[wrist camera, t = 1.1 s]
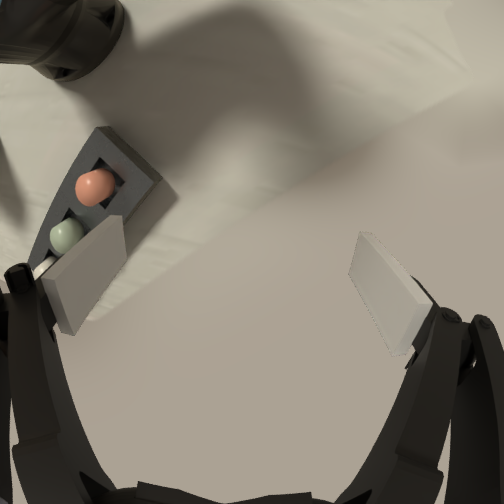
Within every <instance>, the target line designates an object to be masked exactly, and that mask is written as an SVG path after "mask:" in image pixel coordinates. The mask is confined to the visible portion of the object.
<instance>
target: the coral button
mask: <svg viewBox="0 0 504 504" xmlns="http://www.w3.org/2000/svg"><path fill="white" fill-rule="evenodd" d="M114 189H115V178H114V176H113V174H112V173H111V172H110V171H109V170H108V169H105V168H99V169H97V170H94V171H91V172H88V173H86V174H83V175H81V176H80V177H79V178H78V180H77V182H76V187H75V191H76V195H77V198H78V200H79V201H80V202H81V203H82V204H83V205H85V206H94V205H96V204H97V203H99V202H101V201H103V200H104V199H106V198H108V197H109V196H111V195H112V193H113V192H114Z"/></svg>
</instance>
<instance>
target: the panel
mask: <svg viewBox="0 0 504 504" xmlns="http://www.w3.org/2000/svg"><path fill="white" fill-rule="evenodd" d="M99 168H105V169H108V170H109V171H110V172H111V173H112V174H113V176H114V178H115V189H114V192H113V193H112V195H111V196H109V197H108V198H106V199H104V200H103V201H101V202H99V203H97V204H96V205H94V206H85V205H83V204H82V203H81V202H80V201H79V200H78V198H77V195H76V191H75V187H76V182H77V180H78V178H79V177H80V176H81V175H83V174H86V173H88V172H91V171H94V170H97V169H99ZM162 178H163V177H162V176H161V175H160V174H159V173H158V172H157V171H156V170H155V169H154V168H153V167H152V166H150V165H149V164H148V163H147V162H146V161H145V160H144V159H143V158H142V157H141V156H140V155H139V154H138V153H137V152H136V151H135V150H134V149H132V148H131V147H130V146H129V145H128V144H127V143H126V142H125V141H124V140H123V139H122V138H121V137H120V136H119V135H118V134H117V133H116V132H115V131H113V130H112V129H111V128H110V127H109V126H104V127H96V128H95V129H94V131H93V132H92V134H91V135H90V137H89V138H88V140H87V141H86V143H85V144H84V146H83V148H82V149H81V151H80V152H79V154H78V156H77V157H76V159H75V161H74V162H73V164H72V166H71V168H70V169H69V171H68V173H67V175H66V176H65V178H64V180H63V182H62V184H61V186H60V188H59V190H58V192H57V193H56V195H55V197H54V200H53V202H52V204H51V206H50V208H49V210H48V212H47V214H46V217H45V219H44V221H43V223H42V226H41V228H40V231H39V233H38V235H37V238H36V240H35V243H34V246H33V248H32V251H31V254H30V257H29V259H28V262H27V263H28V264H29V265H30V267H31V269H32V270H33V271H34V270H35V268H37V267H38V266H39V265H40V264H41V263H42V262H43V261H45V260H46V259H47V258H48V257H50V256H52V257H55V258H56V259H58V258H59V257H61V256H62V255H64V254H61V253H59V252H58V251H56V250H55V249H54V247H53V246H52V244H51V241H50V232H51V230H52V228H53V227H55V226H57V225H58V224H60V223H61V222H63V221H64V220H66V219H67V218H69V217H74V218H76V219H78V220H79V221H80V222H81V224H82V226H83V228H84V237H85V236H86V235H87V234H88V233H89V232H91V231H92V230H93V229H94V228H95V227H96V226H98V225H99V224H100V223H101V222H103V221H104V220H105V219H106V218H107V217H109V216H110V215H121V216H122V221H123V226H124V225H125V223H126V222H127V221H128V220H129V218H130V217H131V216H132V214H133V213H134V212H135V210H136V209H137V208H138V207H139V205H140V204H141V203H142V202H143V200H144V199H145V198H146V197H147V196H148V194H149V193H150V192H151V191H152V189H153V188H154V187H155V186H156V185H157V184H158V182H159V181H160V180H161V179H162Z"/></svg>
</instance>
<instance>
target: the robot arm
mask: <svg viewBox="0 0 504 504" xmlns="http://www.w3.org/2000/svg"><path fill="white" fill-rule="evenodd" d="M123 23H124V11H123V7H122V5H121V3H120V2H119V1H118V0H0V63H6V64H24V65H30V66H31V67H33V68H34V69H35V70H37V71H38V72H39V73H41V74H42V75H43V76H45V77H46V78H49V79H51V80H57V81H72V80H75V79H78V78H80V77H82V76H84V75H86V74H88V73H89V72H91V71H92V70H93V69H94V68H96V67H97V66H98V65H99V64H100V63H101V62H102V61H103V60H104V59H105V58H106V57H107V55H108V54H109V53H110V51H111V50H112V49H113V47H114V45H115V44H116V42H117V40H118V38H119V36H120V33H121V31H122V27H123ZM126 261H127V254H126V247H125V239H124V230H123V221H122V216H121V215H110V216H109V217H107V218H106V219H105V220H104V221H103V222H101V223H100V224H99V225H98V226H96V227H95V228H94V229H93V230H92V231H91V232H89V233H88V234H87V235H86V236H85V237H84V238H82V239H81V240H80V241H79V242H78V243H77V244H76V245H74V246H73V247H72V248H71V249H70V250H69V251H68V252H67V253H66V254H64V255H62V256H61V257H59V258H58V259H56V260H55V261H54V262H53V264H51V265H50V266H49V267H48V269H46V270H45V271H44V272H43V273H42V274H41V275H40V276H39V277H38V278H37V279H36V280H34V277H33V274H32V271H31V267H30V265H29V264H28V263H19V264H16V265H14V266H12V267H10V268H9V269H8V270H7V271H6V272H5V274H4V277H5V280H6V283H7V286H8V288H9V291H10V293H5V294H3V293H2V291H1V288H0V504H13V499H12V498H13V494H12V492H13V491H12V490H13V489H12V477H11V466H10V444H9V442H10V441H9V431H10V407H11V398H12V405H13V412H14V418H15V423H16V429H17V433H18V438H19V443H18V444H16V445H13V447H12V455H13V460H14V463H15V467H16V471H17V474H18V478H19V481H20V484H21V487H22V490H23V492H24V495H25V498H26V500H27V503H28V504H223V503H218V502H214V501H211V500H208V499H205V498H202V497H198V496H196V495H193V494H190V493H187V492H184V491H182V490H179V489H173V488H168V487H162V486H158V485H153V484H149V483H144V482H140V481H138V484H137V487H132V488H122V489H116V487H115V486H114V484H113V483H112V481H111V480H110V478H109V477H108V476H107V475H106V474H105V472H104V471H103V469H102V468H101V466H100V464H99V462H98V460H97V458H96V456H95V454H94V452H93V450H92V448H91V445H90V443H89V441H88V439H87V436H86V434H85V432H84V429H83V427H82V424H81V421H80V419H79V416H78V414H77V411H76V408H75V405H74V402H73V399H72V396H71V393H70V390H69V387H68V383H67V380H66V376H65V373H64V369H63V365H62V362H61V357H60V354H59V349H58V344H57V339H56V334H55V332H54V330H53V326H54V325H55V323H56V322H57V324H58V326H59V329H60V331H61V333H65V334H69V335H72V336H75V334H76V333H77V331H78V330H79V328H80V327H81V325H82V323H83V322H84V320H85V319H86V317H87V316H88V314H89V313H90V311H91V310H92V308H93V307H94V305H95V304H96V302H97V301H98V299H99V298H100V297H101V295H102V294H103V292H104V291H105V289H106V288H107V287H108V285H109V284H110V282H111V281H112V280H113V278H114V277H115V275H116V274H117V273H118V271H119V270H120V269H121V267H122V266H123V265H124V263H125V262H126ZM349 276H350V278H351V279H352V281H353V283H354V285H355V287H356V288H357V290H358V292H359V294H360V296H361V297H362V299H363V301H364V303H365V305H366V307H367V308H368V310H369V312H370V314H371V316H372V318H373V320H374V322H375V323H376V325H377V327H378V329H379V331H380V333H381V335H382V337H383V339H384V341H385V343H386V345H387V347H388V349H389V351H390V353H391V356H400V355H406V354H407V352H408V350H409V349H410V347H411V345H413V346H414V348H415V352H414V354H413V355H412V357H411V359H410V360H409V362H408V364H407V365H406V367H405V369H407V368H408V369H407V372H406V375H405V377H404V380H403V383H402V385H401V388H400V390H399V393H398V395H397V398H396V400H395V403H394V405H393V407H392V409H391V411H390V414H389V416H388V418H387V420H386V423H385V425H384V427H383V429H382V431H381V433H380V435H379V437H378V438H377V441H376V442H375V444H374V446H373V448H372V450H371V452H370V453H369V455H368V457H367V459H366V461H365V462H364V464H363V466H362V467H361V469H360V471H359V472H358V474H357V475H356V477H355V479H354V480H353V482H352V483H351V484H350V485H349V487H348V488H347V489H346V490H345V491H344V492H343V493H342V494H341V495H340V496H339V497H338V499H337V500H336V501H335V502H334V503H331V502H328V501H325V500H320V499H314V498H312V495H311V492H306V493H296V494H283V495H268V496H264V497H259V498H255V499H250V500H245V501H239V502H234V503H227V504H434V503H435V501H436V498H437V496H438V493H439V491H440V488H441V485H442V482H443V478H444V476H443V472H442V471H439V470H438V468H437V467H438V462H439V459H440V456H441V453H442V450H443V446H444V442H445V439H446V435H447V432H448V428H449V424H450V419H451V441H450V460H449V471H448V480H447V488H446V494H445V501H444V504H504V350H503V347H502V345H501V342H500V339H499V336H498V333H497V331H496V328H495V326H494V324H493V323H492V321H491V320H490V319H489V318H487V317H486V316H483V315H479V314H477V315H475V316H474V318H473V320H472V322H471V323H466V322H462V319H461V317H460V316H459V315H458V314H457V313H456V312H455V311H453V310H451V309H449V308H445V307H441V308H440V307H439V306H438V304H437V303H436V302H435V300H434V299H433V298H432V297H431V296H430V294H429V293H428V292H427V291H426V290H425V288H423V286H422V285H421V283H420V282H419V281H418V280H416V279H415V278H414V277H412V276H411V275H409V274H408V272H407V271H406V270H405V269H404V268H403V267H402V266H401V264H400V263H399V262H398V261H397V260H396V259H395V258H394V257H393V255H392V254H391V253H390V252H389V251H388V250H387V249H386V248H385V247H384V246H383V245H382V244H381V242H380V241H379V240H378V239H377V238H376V237H375V236H374V235H373V234H372V233H368V232H360V233H359V237H358V241H357V245H356V249H355V253H354V257H353V260H352V264H351V268H350V271H349ZM475 361H476V363H475V366H474V368H473V363H474V362H475Z"/></svg>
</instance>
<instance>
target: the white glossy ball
mask: <svg viewBox="0 0 504 504" xmlns="http://www.w3.org/2000/svg"><path fill="white" fill-rule="evenodd" d="M55 260H56V258H55V257H52V256H50V257H48V258H47V259H46V260H45V261H43V262H42V263H41V264H40V265H39V266H38V267H37V268H35V270H34V276H35V279H37V278H38V277H39V276H40V275H41V274H42V273H43V272H44V271H45V270H46V269H48V267H49V266H50V265H51V264H53V262H54V261H55Z"/></svg>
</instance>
